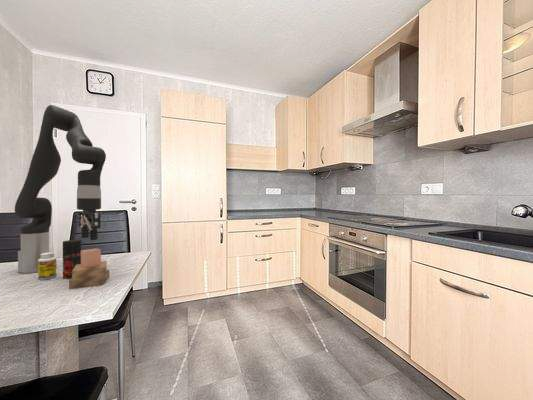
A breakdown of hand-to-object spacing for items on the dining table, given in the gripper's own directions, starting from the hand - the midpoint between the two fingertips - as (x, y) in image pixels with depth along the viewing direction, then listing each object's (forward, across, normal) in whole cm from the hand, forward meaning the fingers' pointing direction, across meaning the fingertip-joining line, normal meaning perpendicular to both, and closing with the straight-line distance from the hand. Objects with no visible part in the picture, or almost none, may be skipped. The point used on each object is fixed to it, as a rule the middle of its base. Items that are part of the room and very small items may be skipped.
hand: (89, 238), depth 90 cm
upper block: (+14, 0, 0) cm, 14 cm away
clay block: (+10, 0, 0) cm, 10 cm away
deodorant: (+17, +14, +1) cm, 22 cm away
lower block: (+18, -1, 0) cm, 18 cm away
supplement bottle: (+17, +20, +8) cm, 28 cm away
